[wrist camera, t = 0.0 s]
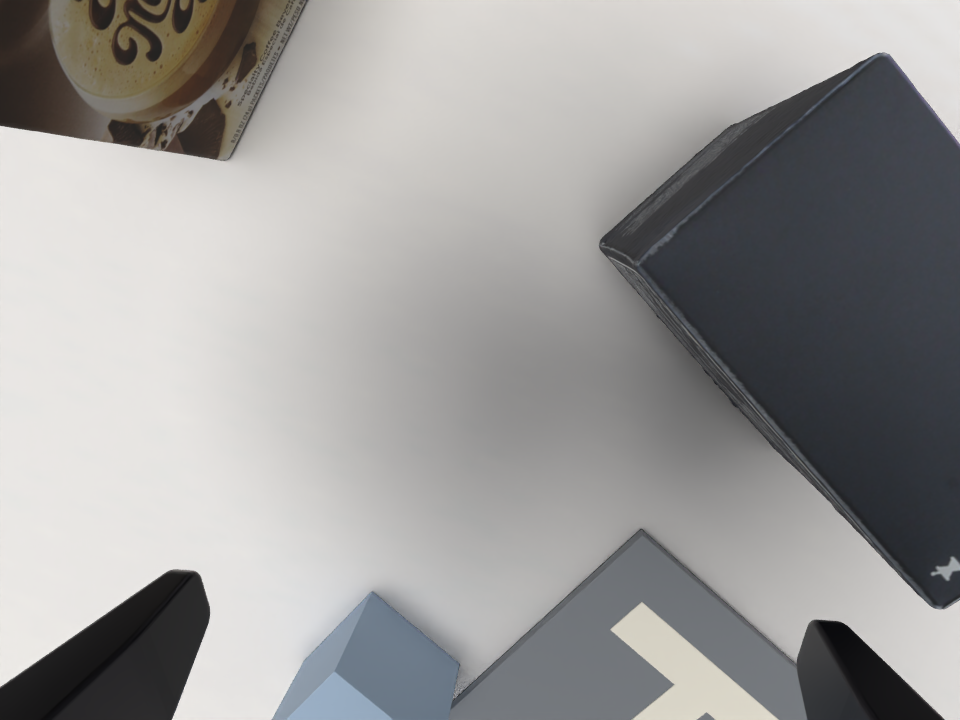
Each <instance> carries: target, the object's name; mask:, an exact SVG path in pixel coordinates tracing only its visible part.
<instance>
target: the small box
mask: <svg viewBox="0 0 960 720" xmlns="http://www.w3.org/2000/svg"><path fill="white" fill-rule="evenodd" d="M599 247H600V250H601V251H602V252H603V253H604V254H605V255H606V256H607V257H608V258H609V259H610V261H611V262H612V263H613V264H614V265H615V267H616V268H617V269H618V270H619V272H620V273H621V274H622V275H623V276H624V277H625V279H626V280H627V281H628V282H629V283H630V284H631V285H632V286H633V288H634V289H635V290H636V291H637V292H638V294H639V295H640V296H641V297H642V298H643V299H644V300H645V301H646V302H647V304H648V305H649V306H650V307H651V308H652V310H653V311H654V312H655V313H656V315H657V317H658V318H660V319H661V320H662V321H663V322H664V323H665V324H666V326H667V327H668V328H669V329H670V330H671V331H672V333H673V334H674V335H675V336H676V337H677V338H678V339H679V341H680V342H681V343H682V344H683V345H684V346H685V348H686V349H687V350H688V351H689V352H690V353H691V354H692V356H693V357H694V358H695V359H696V360H697V361H698V362H699V364H700V365H701V366H702V367H703V369H704V371H705V373H706V374H708V375H709V376H710V377H711V378H712V379H713V380H714V383H715V384H716V385H718V386H719V388H720V389H722V390H723V391H724V393H725V394H726V395H727V396H728V397H729V399H730V401H731V402H732V404H733V405H734V406H735V407H737V408H739V410H740V411H741V412H742V413H743V414H744V415H745V416H746V417H747V418H748V419H749V420H750V421H751V423H752V424H753V425H754V426H755V427H756V428H757V429H758V430H759V431H760V432H761V434H762V435H763V436H764V437H765V438H766V439H767V440H768V441H769V443H770V444H771V445H772V447H773V448H774V449H775V450H776V451H777V452H778V453H780V454H781V455H782V456H783V457H784V459H785V460H787V461H788V462H789V463H790V464H791V465H792V466H794V467H795V468H796V469H797V470H798V471H799V472H800V473H801V474H802V475H803V476H804V477H805V478H806V479H807V480H808V481H809V482H810V483H811V484H812V485H814V486H815V488H816V489H817V490H818V491H819V492H820V493H821V494H822V495H823V496H824V497H825V498H826V499H827V500H828V501H829V502H830V503H831V504H832V505H833V507H834V508H835V509H836V510H837V511H838V512H839V513H840V514H841V515H842V516H843V517H844V518H845V519H846V520H847V521H848V522H849V523H850V524H851V525H852V526H853V528H854V529H856V531H857V532H859V533H860V534H861V535H862V536H863V537H864V538H865V539H866V540H867V541H868V543H869V544H870V545H871V546H872V547H873V548H874V549H875V550H876V551H877V552H878V553H879V554H880V555H881V557H882V558H884V560H885V561H886V562H887V563H888V564H889V565H890V566H891V567H892V568H893V569H894V570H895V571H896V572H897V573H898V575H899V576H900V577H901V578H902V579H903V580H904V581H905V582H906V583H907V584H908V585H909V586H910V587H911V588H912V589H913V590H914V591H915V592H916V593H917V594H918V595H919V596H920V597H922V598H923V599H924V600H925V601H926V602H927V603H928V604H929V605H930V606H931V607H933V608H936V609H946V608H948V607H949V606H951V605H952V604H954V603H956V602H957V601H959V600H960V144H959V143H958V141H957V140H956V139H955V137H954V136H953V135H952V134H951V132H950V131H949V130H948V128H947V127H946V126H945V125H944V123H943V122H942V121H941V119H940V118H939V117H938V116H937V114H936V113H935V112H934V111H933V109H932V108H931V107H930V105H929V104H928V103H927V102H926V100H925V99H924V98H923V97H922V96H921V94H920V93H919V92H918V91H917V89H916V88H915V87H914V85H913V84H912V83H911V81H910V80H909V78H908V77H907V76H906V75H905V73H904V72H903V71H902V70H901V68H900V67H899V66H898V65H897V63H896V62H895V61H894V60H893V58H892V57H891V56H890V55H889V54H887V53H877V54H875V55H873V56H871V57H869V58H868V59H866V60H864V61H861V62H859V63H857V64H856V65H854V66H853V67H851V68H850V69H847V70H845V71H843V72H841V73H839V74H837V75H835V76H833V77H831V78H829V79H827V80H825V81H823V82H821V83H819V84H816V85H814V86H812V87H810V88H809V89H807V90H804V91H802V92H801V93H799V94H797V95H795V96H793V97H791V98H789V99H787V100H784V101H782V102H780V103H778V104H776V105H774V106H772V107H769V108H768V109H766V110H764V111H762V112H760V113H757V114H755V115H753V116H751V117H749V118H748V119H745V120H743V121H741V122H739V123H736V124H733V125H731V126H730V127H728V128H727V129H726V130H724V131H723V132H722V133H721V134H720V135H719V136H718V137H717V138H715V139H714V140H713V141H712V142H711V143H710V144H708V145H707V146H706V147H705V148H704V149H703V150H701V151H700V152H699V153H697V154H696V155H695V156H694V157H693V158H692V159H691V160H690V161H689V162H688V163H687V164H685V165H684V166H683V167H682V168H681V169H680V170H678V171H677V172H676V173H675V174H674V175H673V176H672V177H671V178H669V179H668V180H667V181H666V182H665V183H664V184H663V185H661V186H660V187H659V188H658V189H657V190H656V191H655V192H654V193H653V194H651V195H650V196H649V197H648V198H647V199H646V200H645V201H644V202H642V203H641V204H640V205H639V206H638V207H637V208H636V209H634V210H633V211H632V212H631V213H629V214H628V215H627V216H626V217H625V218H624V219H623V220H622V221H621V222H620V223H618V224H617V225H616V226H615V227H614V228H613V229H612V230H611V231H609V232H608V233H607V234H606V235H605V236H604V237H603V238H602V239H601V240H600V244H599Z"/></svg>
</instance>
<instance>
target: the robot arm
mask: <svg viewBox="0 0 960 720" xmlns="http://www.w3.org/2000/svg"><path fill="white" fill-rule="evenodd" d="M209 619H210V606H209V603H208V599H207V596H206V593H205V589H204V586H203V582H202V579H201V576H200V575H199V574H198V573H197V572H196V571H190V570H177V569H175V570H170V571H168V572H166V573H164V574H163V575H162V576H160V577H159V578H157V579H156V580H154V581H153V582H151V583H150V584H149V585H147V586H146V587H144V588H143V589H141V590H140V591H138V592H137V593H136V594H134V595H133V596H131V597H130V598H128V599H127V600H125V601H124V602H123V603H121V604H120V605H118V606H117V607H115V608H114V609H112V610H111V611H110V612H108V613H107V614H105V615H104V616H102V617H101V618H99V619H98V620H97V621H95V622H94V623H92V624H91V625H89V626H88V627H86V628H85V629H84V630H82V631H81V632H79V633H78V634H76V635H75V636H73V637H72V638H71V639H69V640H68V641H66V642H65V643H63V644H62V645H60V646H59V647H58V648H56V649H55V650H53V651H52V652H50V653H49V654H47V655H46V656H45V657H43V658H42V659H40V660H39V661H37V662H36V663H34V664H33V665H32V666H30V667H29V668H27V669H26V670H24V671H23V672H21V673H20V674H19V675H17V676H16V677H14V678H13V679H11V680H10V681H8V682H7V683H6V684H4V685H3V686H1V687H0V720H172V718H173V715H174V713H175V711H176V708H177V706H178V703H179V700H180V698H181V695H182V692H183V690H184V687H185V684H186V682H187V679H188V676H189V674H190V671H191V668H192V666H193V663H194V660H195V658H196V655H197V653H198V650H199V647H200V645H201V642H202V639H203V637H204V634H205V631H206V629H207V626H208V623H209ZM797 674H798V680H799V684H800V689H801V693H802V698H803V703H804V707H805V712H806V716H807V720H945V719H944V718H943V717H942V716H941V715H939V714H938V713H937V712H936V711H935V710H934V709H933V708H932V707H931V706H930V705H929V704H928V703H927V702H926V701H925V700H924V699H923V698H922V697H921V696H920V695H919V694H918V693H917V692H916V691H915V690H914V689H913V688H911V687H910V686H909V685H908V684H907V683H906V682H905V681H904V680H903V679H902V678H901V677H900V676H899V675H898V674H897V673H896V672H895V671H894V670H893V669H892V668H891V667H890V666H889V665H888V664H887V663H886V662H885V661H883V660H882V659H881V658H880V657H879V656H878V655H877V654H876V653H875V652H874V651H873V650H872V649H871V648H870V647H869V646H868V645H867V644H866V643H865V642H864V641H863V640H862V639H861V638H860V637H859V636H858V635H857V634H855V633H854V632H853V631H852V630H851V629H850V628H849V627H848V626H847V625H845V624H844V623H842V622H838V621H828V620H812V621H811V622H810V623H809V625H808V627H807V630H806V633H805V636H804V639H803V642H802V645H801V648H800V651H799V654H798V658H797Z"/></svg>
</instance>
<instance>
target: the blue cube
mask: <svg viewBox="0 0 960 720" xmlns="http://www.w3.org/2000/svg"><path fill="white" fill-rule="evenodd" d="M459 665H460V664H459V663H458V662H457V661H455V660H454V659H453V658H452V657H451V656H449V655H448V654H447V653H446V652H445V651H443V650H442V649H441V648H440V647H439V646H437V645H436V644H435V643H434V642H433V641H431V640H430V639H429V638H428V637H426V636H425V635H424V634H423V633H422V632H420V631H419V630H418V629H417V628H416V627H414V626H413V625H412V624H411V623H410V622H408V621H407V620H406V619H405V618H404V617H402V616H401V615H400V614H399V613H398V612H396V611H395V610H394V609H393V608H392V607H390V606H389V605H388V604H387V603H386V602H384V601H383V600H382V599H381V598H379V597H378V596H377V595H376V594H375V593H373V592H371V593H370V594H369V595H368V596H367V597H366V598H365V599H364V600H363V601H362V602H361V603H360V604H359V605H358V606H357V607H356V608H355V609H354V610H353V611H352V612H351V613H350V614H349V615H348V616H347V617H346V618H345V619H344V621H343V622H342V623H341V624H340V625H339V626H338V627H337V628H336V629H335V630H334V631H333V632H332V633H331V634H330V635H329V636H328V637H327V638H326V639H325V640H324V641H323V642H322V643H321V644H320V645H319V646H318V647H317V648H316V649H315V650H314V651H313V652H312V653H311V654H310V655H309V656H308V658H307V659H306V660H305V661H304V662H303V664H302V665H301V667H300V669H299V671H298V673H297V675H296V676H295V678H294V680H293V682H292V684H291V686H290V687H289V689H288V691H287V693H286V695H285V696H284V698H283V700H282V702H281V704H280V706H279V707H278V709H277V711H276V713H275V715H274V717H273V718H272V720H448V719H449V714H450V709H451V704H452V699H453V694H454V689H455V684H456V679H457V675H458V670H459Z"/></svg>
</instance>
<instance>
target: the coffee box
mask: <svg viewBox="0 0 960 720" xmlns="http://www.w3.org/2000/svg"><path fill="white" fill-rule="evenodd" d="M305 2H306V0H0V126H5V127H11V128H17V129H24V130H30V131H39V132H44V133H50V134H56V135H62V136H69V137H74V138H80V139H87V140H94V141H100V142H108V143H115V144H121V145H127V146H132V147H139V148H146V149H151V150H157V151H166V152H172V153H179V154H185V155H192V156H197V157H203V158H209V159H215V160H220V161H225V160H227V159H229V157H230V155H231V153H232V151H233V149H234V147H235V145H236V143H237V141H238V139H239V137H240V135H241V133H242V131H243V129H244V127H245V125H246V123H247V121H248V119H249V116H250V114H251V112H252V110H253V108H254V106H255V104H256V102H257V100H258V98H259V96H260V94H261V92H262V90H263V88H264V86H265V84H266V82H267V80H268V78H269V76H270V74H271V72H272V70H273V68H274V65H275V63H276V61H277V59H278V57H279V55H280V53H281V51H282V49H283V47H284V45H285V43H286V41H287V39H288V37H289V35H290V33H291V31H292V29H293V27H294V25H295V23H296V21H297V19H298V16H299V14H300V12H301V10H302V8H303V6H304V4H305Z"/></svg>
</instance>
